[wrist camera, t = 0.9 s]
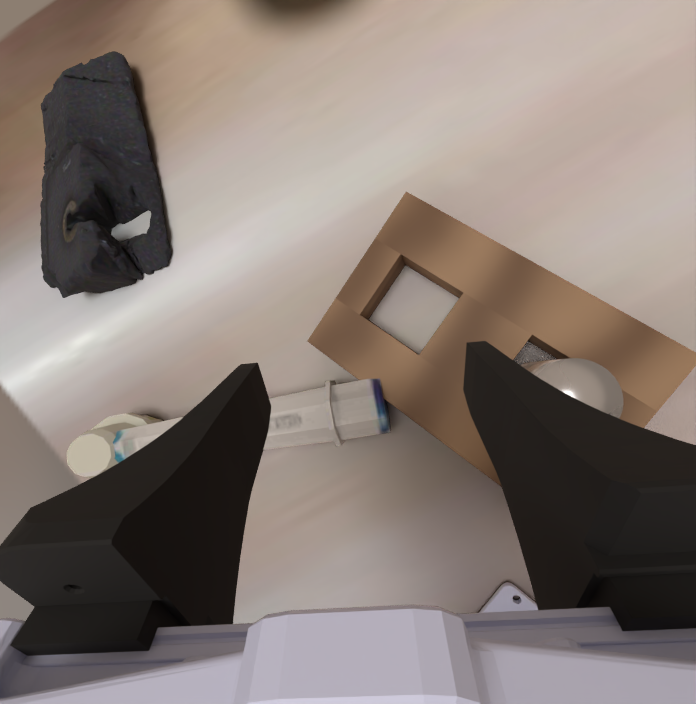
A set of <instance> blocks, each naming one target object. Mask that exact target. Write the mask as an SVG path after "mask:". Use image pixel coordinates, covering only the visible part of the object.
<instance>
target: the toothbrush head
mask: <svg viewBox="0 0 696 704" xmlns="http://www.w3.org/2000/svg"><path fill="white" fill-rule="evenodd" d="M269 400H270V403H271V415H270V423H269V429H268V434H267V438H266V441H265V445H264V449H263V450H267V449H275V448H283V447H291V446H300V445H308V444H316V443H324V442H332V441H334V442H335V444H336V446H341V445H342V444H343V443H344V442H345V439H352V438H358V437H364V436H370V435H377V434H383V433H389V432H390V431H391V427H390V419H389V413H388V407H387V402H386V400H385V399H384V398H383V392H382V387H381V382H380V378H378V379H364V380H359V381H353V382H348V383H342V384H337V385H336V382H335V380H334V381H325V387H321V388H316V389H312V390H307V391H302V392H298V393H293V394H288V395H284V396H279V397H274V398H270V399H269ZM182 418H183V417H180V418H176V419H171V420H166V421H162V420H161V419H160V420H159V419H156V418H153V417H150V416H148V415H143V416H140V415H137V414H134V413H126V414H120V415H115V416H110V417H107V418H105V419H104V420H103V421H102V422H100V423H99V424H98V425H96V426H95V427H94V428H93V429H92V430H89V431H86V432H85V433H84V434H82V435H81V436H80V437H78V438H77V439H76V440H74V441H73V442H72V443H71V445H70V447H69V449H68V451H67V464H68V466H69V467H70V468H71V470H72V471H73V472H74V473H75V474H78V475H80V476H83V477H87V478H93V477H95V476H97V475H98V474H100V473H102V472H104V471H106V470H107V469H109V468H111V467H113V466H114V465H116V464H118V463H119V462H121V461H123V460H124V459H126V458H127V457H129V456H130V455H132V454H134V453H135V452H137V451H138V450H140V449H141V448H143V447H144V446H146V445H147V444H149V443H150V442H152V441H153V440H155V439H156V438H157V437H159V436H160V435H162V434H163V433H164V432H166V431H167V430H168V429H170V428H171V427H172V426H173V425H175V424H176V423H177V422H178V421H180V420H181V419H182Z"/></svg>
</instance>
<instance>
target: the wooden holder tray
mask: <svg viewBox="0 0 696 704" xmlns="http://www.w3.org/2000/svg"><path fill="white" fill-rule="evenodd" d="M405 265H407V266H408V267H410V268H412V269H413V270H415V271H417V272H418V273H420V274H421V275H423V276H425V277H426V278H428V279H429V280H431V281H433V282H434V283H436V284H438V285H439V286H441V287H442V288H444V289H446V290H447V291H449V292H450V293H452V294H454V295H455V296H457V297H459V300H458V301H457V303H456V304H455V305H454V307H453V308H452V310H451V311H450V312H449V314H448V315H447V317H446V318H445V319H444V321H443V322H442V324H441V325H440V326H439V328H438V329H437V331H436V332H435V333H434V335H433V336H432V338H431V339H430V340H429V342H428V343H427V345H426V346H425V347H424V349H423V350H422V352H421V353H420V354H417V353H416V352H414V351H413V350H411V349H410V348H409V347H407V346H406V345H404V344H403V343H401V342H400V341H398V340H397V339H395V338H394V337H393V336H391V335H390V334H388V333H387V332H385V331H384V330H382V329H381V328H380V327H378V326H377V325H375V324H374V323H372V322H371V321H369V320H368V319H369V318H370V316H371V315H372V313H373V312H374V310H375V309H376V307H377V306H378V304H379V303H380V301H381V300H382V298H383V297H384V296H385V294H386V293H387V291H388V290H389V288H390V287H391V285H392V284H393V282H394V281H395V279H396V278H397V276H398V275H399V274H400V272H401V271H402V269H403V268H404V266H405ZM478 341H486V342H488V343H489V344H491V345H492V346H494V347H495V348H496V349H498V350H499V351H501V352H502V353H503V354H505V355H506V356H508V357H509V358H510V359H512V360H513V359H514V358H515V357H516V355H517V354H518V353H519V351H520V350H521V349H522V347H523V346H524V345H525V343H526V342H527V341H530V342H531V343H533V344H534V345H536V346H538V347H539V348H541V349H542V350H544V351H546V352H547V353H549V354H551V355H552V356H554V357H555V358H557V359H569V358H580V359H586V360H590V361H592V362H595V363H597V364H599V365H601V366H603V367H604V368H606V369H607V370H608V371H609V372H610V373H611V374H612V375H613V376H614V377H615V378H616V380H617V381H618V383H619V385H620V387H621V390H622V393H623V410H622V413H621V416H620V418H619V419H621V420H624V421H626V422H629V423H631V424H634V425H636V426H639V427H642V428H644V427H645V426H646V424H647V423H648V422H649V421H650V420H651V418H652V417H653V416H654V415H655V414H656V413H657V411H658V410H659V409H660V408H661V407H662V405H663V404H664V403H665V402H666V401H667V399H668V398H669V397H670V396H671V395H672V393H673V392H674V391H675V390H676V389H677V387H678V386H679V385H680V384H681V383H682V381H683V380H684V379H685V378H686V377H687V375H688V374H689V373H690V372H691V371H692V369H693V368H694V367H695V366H696V352H694V351H692V350H690V349H688V348H687V347H685V346H683V345H681V344H679V343H678V342H676V341H674V340H672V339H670V338H669V337H667V336H665V335H663V334H661V333H660V332H658V331H656V330H654V329H652V328H651V327H649V326H647V325H645V324H643V323H642V322H640V321H638V320H636V319H634V318H633V317H631V316H629V315H627V314H625V313H624V312H622V311H620V310H618V309H616V308H615V307H613V306H611V305H609V304H607V303H606V302H604V301H602V300H600V299H598V298H597V297H595V296H593V295H591V294H589V293H588V292H586V291H584V290H582V289H580V288H579V287H577V286H575V285H573V284H571V283H570V282H568V281H566V280H564V279H562V278H561V277H559V276H557V275H555V274H553V273H552V272H550V271H548V270H546V269H544V268H543V267H541V266H539V265H537V264H535V263H534V262H532V261H530V260H528V259H526V258H525V257H523V256H521V255H519V254H517V253H516V252H514V251H512V250H510V249H508V248H507V247H505V246H503V245H501V244H499V243H498V242H496V241H494V240H492V239H490V238H489V237H487V236H485V235H483V234H481V233H480V232H478V231H476V230H474V229H472V228H471V227H469V226H467V225H465V224H463V223H462V222H460V221H458V220H456V219H454V218H453V217H451V216H449V215H447V214H445V213H444V212H442V211H440V210H438V209H436V208H435V207H433V206H431V205H429V204H427V203H426V202H424V201H422V200H420V199H418V198H417V197H415V196H413V195H411V194H409V193H408V192H406V193H405V194H404V196H403V197H402V199H401V200H400V202H399V203H398V205H397V206H396V208H395V209H394V211H393V212H392V214H391V215H390V217H389V218H388V220H387V221H386V223H385V224H384V226H383V227H382V229H381V231H380V232H379V234H378V235H377V237H376V238H375V240H374V241H373V243H372V244H371V246H370V247H369V249H368V250H367V252H366V253H365V255H364V256H363V258H362V259H361V261H360V262H359V264H358V265H357V267H356V268H355V270H354V271H353V273H352V274H351V276H350V277H349V279H348V280H347V282H346V283H345V285H344V286H343V288H342V289H341V291H340V292H339V294H338V296H337V297H336V299H335V300H334V302H333V303H332V305H331V306H330V308H329V309H328V311H327V312H326V314H325V315H324V317H323V318H322V320H321V321H320V323H319V324H318V326H317V327H316V329H315V330H314V332H313V333H312V335H311V336H310V338H309V339H308V342H309V343H311V344H312V345H313V346H315V347H316V348H317V349H319V350H320V351H321V352H323V353H324V354H325V355H327V356H328V357H329V358H331V359H332V360H333V361H335V362H336V363H337V364H339V365H340V366H341V367H343V368H344V369H345V370H347V371H348V372H349V373H351V374H352V375H353V376H355V377H356V378H357V379H359V380H364V379H378V378H380V382H381V387H382V392H383V398H384V399H385V400H387V401H388V402H389V403H391V404H392V405H393V406H395V407H396V408H397V409H399V410H400V411H401V412H403V413H404V414H405V415H407V416H408V417H409V418H411V419H412V420H413V421H415V422H416V423H417V424H419V425H420V426H421V427H423V428H424V429H425V430H427V431H428V432H429V433H431V434H432V435H433V436H435V437H436V438H437V439H439V440H440V441H441V442H443V443H444V444H445V445H447V446H448V447H449V448H451V449H452V450H453V451H455V452H456V453H457V454H459V455H460V456H461V457H463V458H464V459H465V460H467V461H468V462H469V463H471V464H472V465H473V466H475V467H476V468H477V469H479V470H480V471H481V472H483V473H484V474H485V475H487V476H488V477H489V478H491V479H492V480H493V481H495V482H496V483H497V484H499V485H500V486H501V483H500V480H499V478H498V475H497V473H496V470H495V468H494V466H493V464H492V462H491V459H490V457H489V455H488V453H487V451H486V448H485V446H484V444H483V442H482V440H481V437H480V435H479V433H478V431H477V429H476V426H475V424H474V422H473V420H472V417H471V415H470V412H469V408H468V405H467V402H466V398H465V395H464V391H463V385H464V371H465V358H466V345H467V342H478ZM501 487H502V486H501Z"/></svg>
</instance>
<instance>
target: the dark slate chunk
mask: <svg viewBox="0 0 696 704" xmlns="http://www.w3.org/2000/svg"><path fill="white" fill-rule="evenodd" d="M53 85H54V87H53V89H52V91H51V92H50V93H48V94H47V95H46V96H45V98H44V100H43V103H41V109H42V113H43V124H44V133H45V142H46V148H45V163H44V164H45V166H44V173H45V174H44V176H43V179H42V198H43V199H42V201H41V205H40V206H41V223H40V225H41V250H42V255H41V257H42V271H43V274H44V275H43V278H44V280H45V282H46V283H47V284H48V285H49V286H50V287H51V288H55V287H57V288H59V290H60V292H61V294H62V297H63V298H65V297H68V296H70V295H73V294H78V293H81V292H84V291H86V292H93V293H103V292H107V291H113V290H115V289H118V288H121V287H125V286H129V285H132V284H134V283H136V281H137V279H140V280H141V279H143V277H142V275H143V274H144V273H146V274H152V273H154V270H157V269H160V268H161V267H162V266H163V267H165V266H167V263H168V261H169V259H170V257H171V251H170V244H169V242H168V241H167V232H166V228H165V219H164V216H163V204H162V197H161V191H160V188H159V180H158V176H157V173H156V168H155V165H154V163H153V161H152V156H151V152H150V150H149V148H148V139H147V133H146V129H145V128H144V123H143V117H142V114H141V110H140V105H139V101H138V98H137V96H136V93H135V90H134V82H133V76H132V72H131V69H130V67H129V65H128V62H127V60H126V58H125V57H124V56H123V55H122V54H120V53H118V52H115V51H114V52H109V53H107V54H105V55H103V56H100V57H97V58H95V59H91V60H90V61H89V62H88V63H87V64H85V65H83V64H82V63H80V64H78V65H76V66H74V67H71V68H69V69H67V70H65V71H63V72H62V74H61V75H60V77H59V78H58V79H57V80H56V82H55V84H53ZM148 210H149V211H151V219H150V227H149V229H148V231H147V234H141V235H138V236H135V237H133V238H131V239H127V240H125V241H123V242H119V241H118V240H117V239H115V238H114V237H113V236H112V235H111V232H112V228H113V227H115V226H116V225H117V224H119V223H122V224H125V223H127V222H129V221H131V220H133V219H135V218H136V217H138V216H139V215H141V214H142V213H144V212H146V211H148ZM141 267H142V268H141ZM142 269H143V270H142ZM140 270H141V272H139V271H140Z"/></svg>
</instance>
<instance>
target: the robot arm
mask: <svg viewBox="0 0 696 704" xmlns="http://www.w3.org/2000/svg"><path fill="white" fill-rule="evenodd" d="M463 391H464V395H465V398H466V402H467V405H468V408H469V412H470V415H471V417H472V420H473V422H474V424H475V426H476V429H477V431H478V433H479V435H480V437H481V440H482V442H483V444H484V446H485V448H486V451H487V453H488V455H489V457H490V459H491V462H492V464H493V466H494V468H495V470H496V473H497V475H498V478H499V480H500V483H501V486H502V489H503V492H504V495H505V498H506V501H507V504H508V507H509V510H510V513H511V517H512V520H513V523H514V526H515V529H516V533H517V536H518V539H519V542H520V546H521V549H522V553H523V556H524V560H525V563H526V567H527V570H528V574H529V577H530V581H531V585H532V589H533V592H534V596H535V600H536V602H534V601H533V600H532V599H531V598H529V597H528V596H527V595H526V594H525V593H523V592H522V591H521V590H520V589H518V588H517V587H516V586H515V585H513V584H512V583H509V582H506V583H504V584H502V585H501V587H500V588H499V589H498V590H497V591H496V593H495V594H494V595H493V596H492V597H491V599H490V600H489V601H488V602H487V603H486V605H485V606H484V607H483V608H482V609H481V611H480V612H479V613H465V614H455V613H452V612H450V611H447V610H445V609H442V608H440V607H437V606H423V605H395V606H374V607H354V608H333V609H312V610H291V611H285V612H279V613H273V614H268V615H266V616H264V617H263V618H261V619H260V620H258V621H257V622H255V623H247V624H233V616H234V606H235V595H236V587H237V579H238V571H239V563H240V555H241V548H242V542H243V535H244V528H245V522H246V517H247V511H248V505H249V500H250V495H251V491H252V487H253V484H254V480H255V477H256V473H257V470H258V466H259V463H260V459H261V456H262V452H263V449H264V445H265V441H266V438H267V434H268V429H269V423H270V415H271V403H270V400H269V397H268V394H267V391H266V388H265V384H264V381H263V378H262V375H261V372H260V369H259V365H258V363H251V364H241V365H240V366H238V367H237V368H236V369H235V370H234V371H233V372H232V373H231V374H230V375H229V376H228V377H227V378H226V379H225V380H224V381H223V382H221V383H220V384H219V385H218V386H217V387H216V388H215V389H214V390H213V391H212V392H211V393H210V394H209V395H208V396H207V397H206V398H205V399H204V400H203V401H202V402H200V403H199V404H198V405H197V406H196V407H195V408H193V409H192V410H191V411H190V412H189V413H188V414H187V415H185V416H184V417H183V418H182V419H181V420H180V421H178V422H177V423H176V424H175V425H173V426H172V427H171V428H170V429H168V430H167V431H166V432H164V433H163V434H162V435H160V436H159V437H157V438H156V439H155V440H153V441H152V442H150V443H149V444H147V445H146V446H144V447H143V448H141V449H140V450H138V451H137V452H135V453H134V454H132V455H130V456H129V457H127V458H126V459H124V460H123V461H121V462H119V463H118V464H116V465H114V466H113V467H111V468H109V469H107V470H106V471H104V472H102V473H100V474H98V475H97V476H95V477H93V478H91V479H89V480H87V481H86V482H84V483H82V484H80V485H78V486H76V487H74V488H72V489H70V490H68V491H65V492H64V493H61V494H59V495H57V496H55V497H53V498H51V499H49V500H47V501H45V502H42V503H40V504H38V505H36V506H34V507H31V508H30V510H29V511H28V512H27V513H26V514H25V516H24V517H23V518H22V519H21V521H20V522H19V523H18V524H17V525H16V527H15V528H14V529H13V530H12V532H11V533H10V534H9V535H8V537H7V538H6V539H5V540H4V542H3V543H2V544H1V546H0V581H1V582H2V583H3V584H5V585H6V586H7V587H9V588H10V589H11V590H13V591H14V592H15V593H17V594H18V595H20V596H21V597H22V598H24V599H25V600H26V601H28V602H29V603H31V604H32V605H33V606H35V607H34V609H33V611H32V612H31V614H30V615H29V617H28V618H27V620H26V621H22V620H18V619H11V618H1V619H0V704H696V445H693V444H689V443H686V442H682V441H679V440H676V439H673V438H670V437H667V436H665V435H662V434H659V433H656V432H653V431H650V430H647V429H644V428H642V427H639V426H636V425H634V424H631V423H629V422H626V421H624V420H621V419H619V418H617V417H614V416H612V415H609V414H607V413H605V412H602V411H600V410H598V409H596V408H594V407H591V406H589V405H587V404H585V403H583V402H581V401H579V400H577V399H575V398H573V397H571V396H569V395H568V394H566V393H564V392H562V391H560V390H559V389H557V388H555V387H553V386H552V385H550V384H548V383H547V382H545V381H543V380H542V379H540V378H539V377H537V376H535V375H534V374H532V373H531V372H529V371H528V370H526V369H525V368H523V367H522V366H520V365H519V364H518V363H516V362H515V361H513V360H512V359H510V358H509V357H508V356H506V355H505V354H503V353H502V352H501V351H499V350H498V349H496V348H495V347H494V346H492V345H491V344H489V343H488V342H486V341H478V342H467V345H466V358H465V371H464V385H463ZM515 595H518V596H520V599H519V600H514V599H513V596H515Z"/></svg>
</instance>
